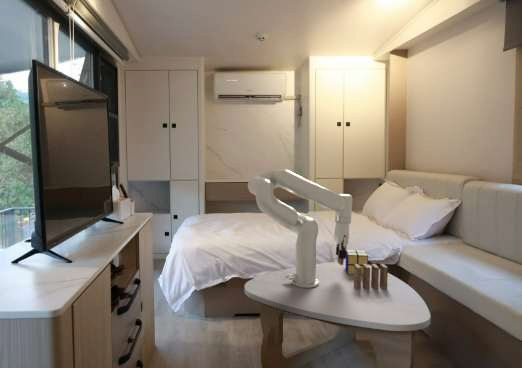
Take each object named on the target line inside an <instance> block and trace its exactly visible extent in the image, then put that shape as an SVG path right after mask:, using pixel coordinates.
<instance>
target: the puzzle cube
mask: <svg viewBox="0 0 522 368" xmlns="http://www.w3.org/2000/svg"><path fill="white" fill-rule="evenodd" d="M355 264H358V265H359V266H360V267H361V276H363V264H367V265H368V266H369V256H368V254H367V252H366V250H362V249H361V250H358V249H356V250H355V249H346V258H345V270H346V273H347V275H354V266H355Z"/></svg>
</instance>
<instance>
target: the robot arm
mask: <svg viewBox="0 0 522 368" xmlns="http://www.w3.org/2000/svg"><path fill="white" fill-rule="evenodd" d="M247 188H248V191H249V193H250V194H252V195H253V196H255V201H256V204H257V206H258V209H259V210H260V211H261V212H262V213H264V214H265V215H267V216H268V217H269V218H272V220H273V221H274V222H276V223H277V224H279V225H281V226H282V227H284V228H286V229H287V230H289V231H291V232H293V233H295V234H297V238H296V241H295V271H294V273H292V274H287V273H285V279H288V280H290V281H291V283H292V284H293V286H296V287H298V288H304V289H305V288H307V289H308V288H309V289H311V288H315V287H317V286H319V284H320V281H319V279H318V278H317V277H316V276H317V275H316V274H317V240H318V235H319V225H318V222H317V221H316V220H315V219H314V218H312V217H310V216H308V215H304V214H302V213H300V212H298V211H297V210H296V209H295V208H294V207H292V206H291V205H288V204H286V203H285V202H282V201H281V200H280V199H279V198H278V197H276V196H275V195H274V194H275V193H274V189H276V188H280V189H283V190H285V191H287V192H289V193H291V194H293V195H295V196H297V197H300V198H302V199H304V200H307V201H310V202H314V203H317V204H319V205H320V206H321V207H322V208H323V209H326V210H330V211H333V212H335V215H334V216H335V219H334V223H335V225H334V226H335V227H334V232H333V233H334V235H333V240H334V241H335V242H336V247H335V251H336V252H335V255H336V256H338V245H339V244H340V250H339V258H342V259H344V260H346V250H347V246H348V244H349V241H350V239H349V238H350V225H351V223H352V213H353V211H352V210H353V196H352V195H351V194H347V193H339V194H338V193H336V192H334V191H332V190H330V189H328V188H326V187H323V186H321V185H319V184H317V183H315V182H313V181H311V180H309V179H306V178H304V177H302V176H300V175H299V174H298V173H297V174H296V173H294V172H293V171H291V170H289V169H285V168H283V169H282V168H278V169H273V170H270V171H268V172H265V173H262V174H258V175H256V176H252V177H251V178H250V179H249V181H248V182H247ZM341 243H344V244H341ZM342 245H343V246H342Z"/></svg>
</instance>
